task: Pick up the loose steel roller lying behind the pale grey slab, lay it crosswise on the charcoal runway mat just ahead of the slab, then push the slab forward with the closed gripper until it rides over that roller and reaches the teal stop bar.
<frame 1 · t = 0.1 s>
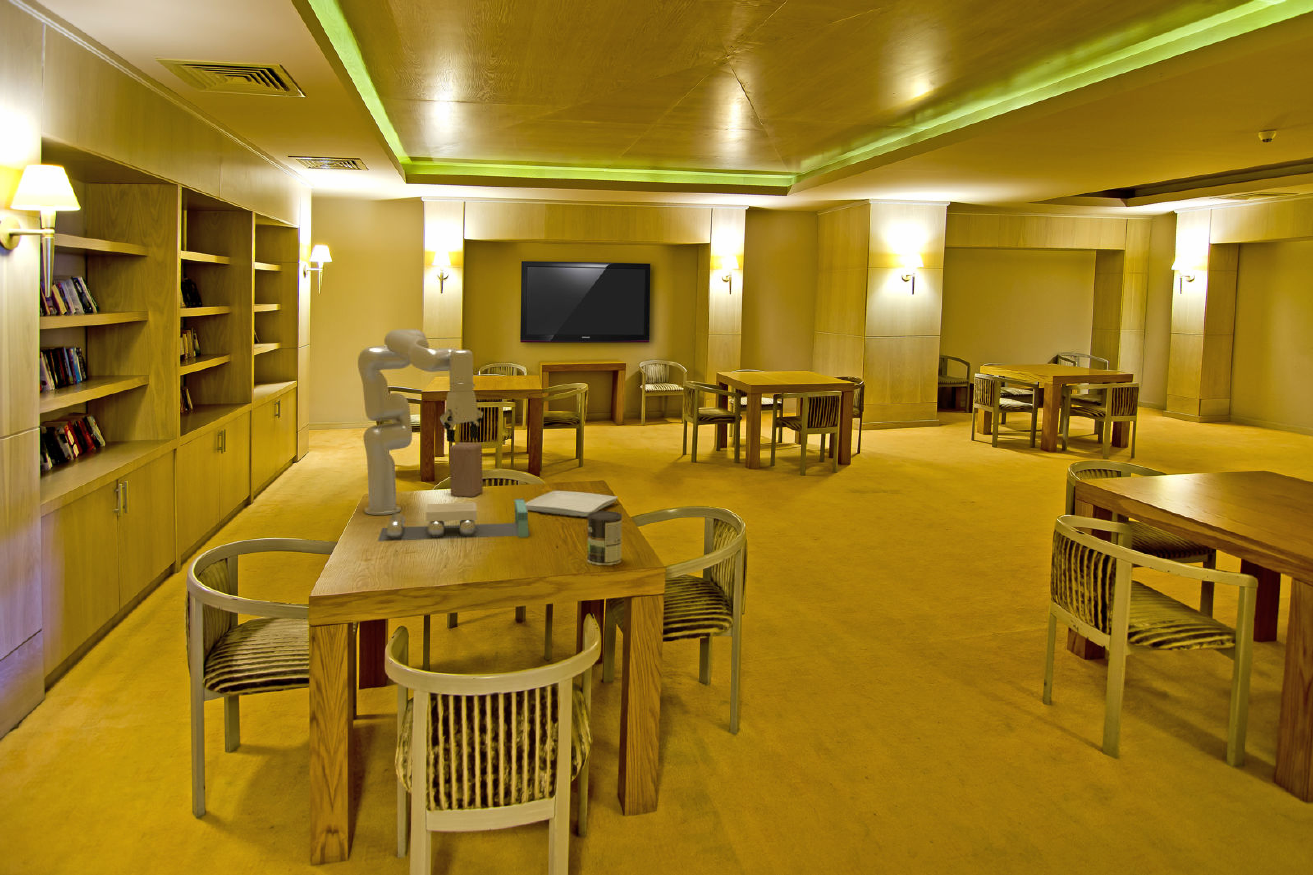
hand: (462, 439, 303), 31 cm above the table, tool pointing down, fingers open, 9 cm apart
loose roller: (396, 533, 303), resting on runway
roller 1: (436, 532, 305), resting on runway
roller 2: (467, 531, 307), resting on runway
wooden block: (466, 495, 366), on the table
runway: (455, 532, 307), on the table
square plate: (571, 510, 344), on the table
slab: (451, 511, 305), point 7 cm above the table, slide at 0.0 cm
coffee can: (604, 561, 277), on the table
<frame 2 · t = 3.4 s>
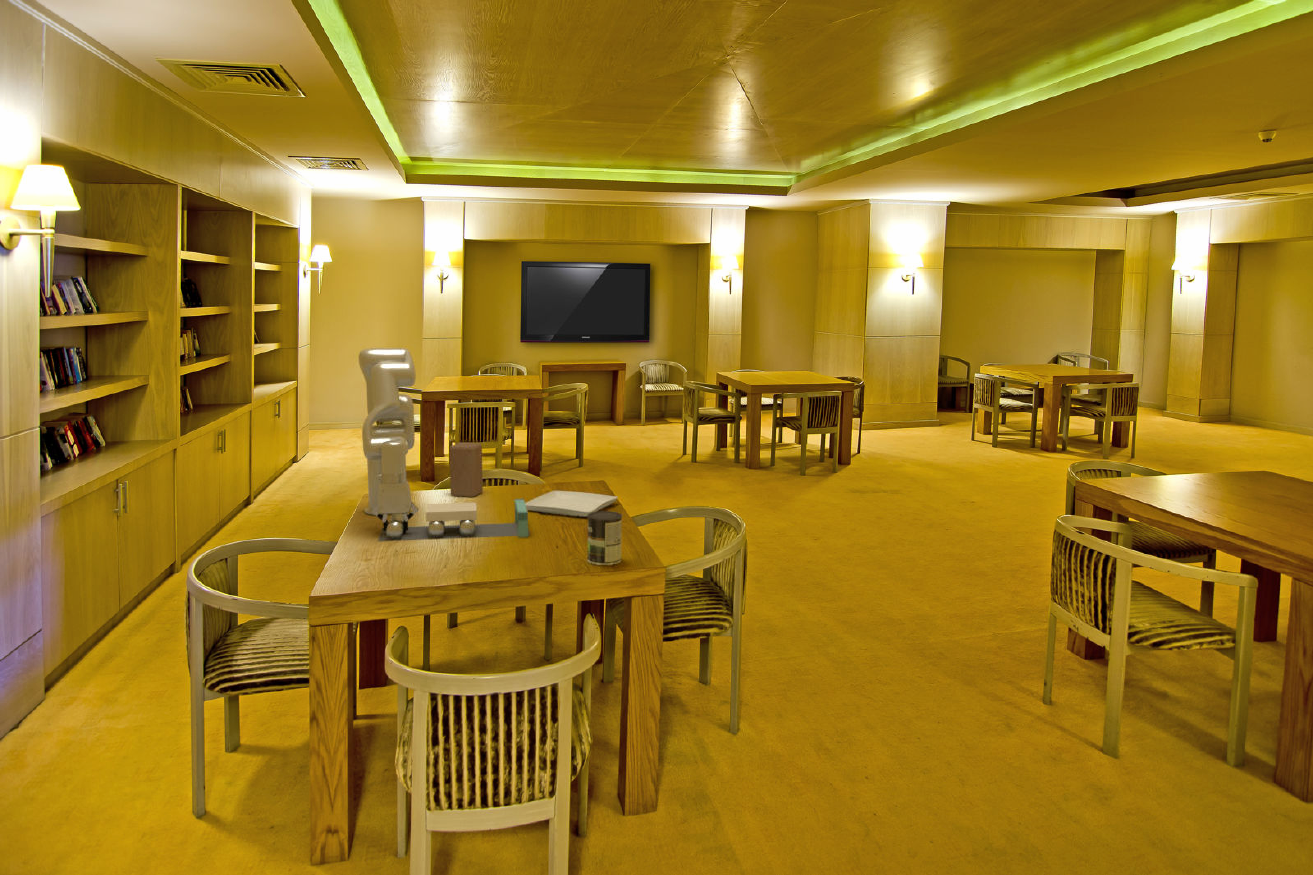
hand: (395, 532, 303), 1 cm above the table, tool pointing down, fingers closed on loose roller, 5 cm apart
loose roller: (395, 533, 303), resting on runway, touching gripper
everything else where it was.
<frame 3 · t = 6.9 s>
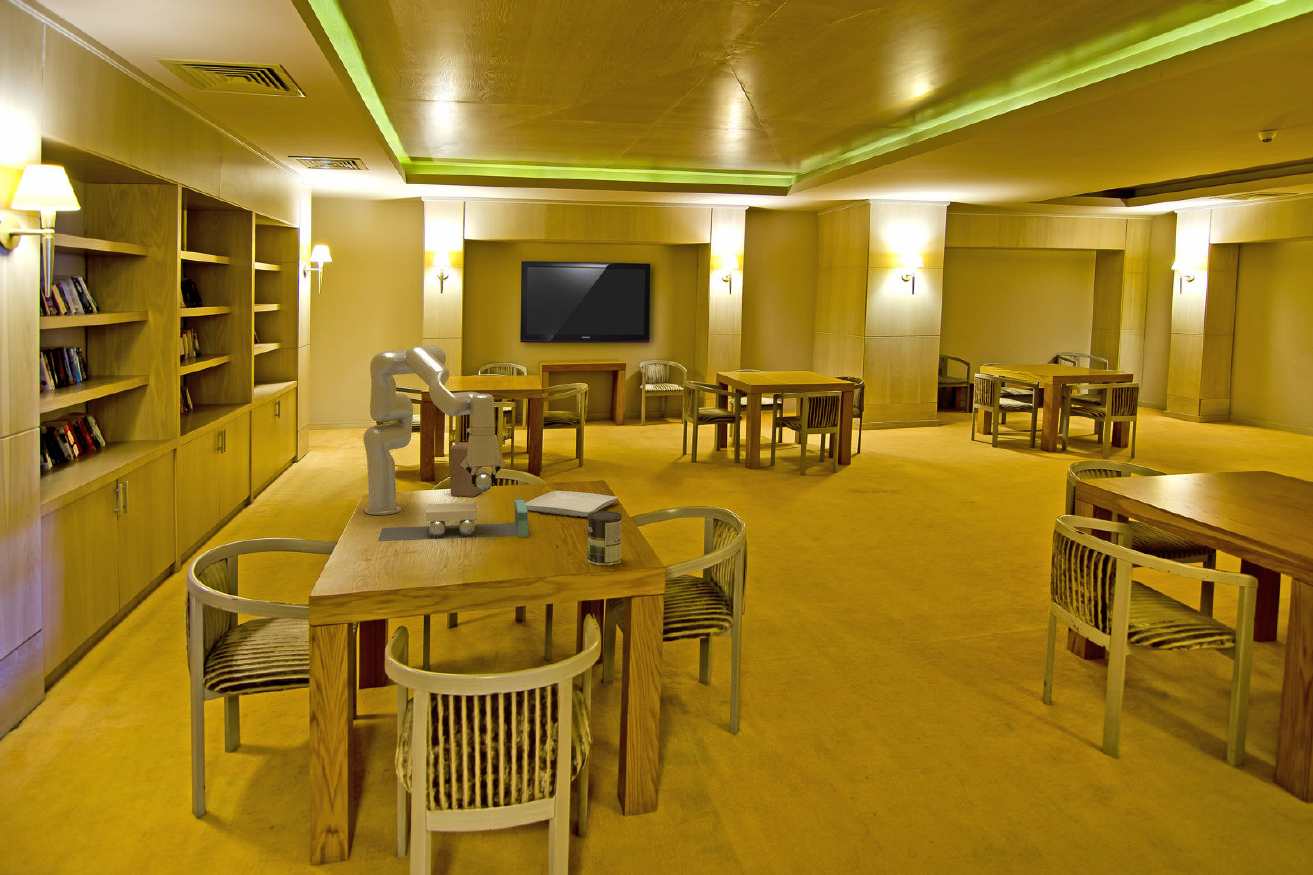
hand: (483, 485, 306), 16 cm above the table, tool pointing down, fingers closed on loose roller, 5 cm apart
loose roller: (483, 486, 306), point 15 cm above the table, touching gripper
roller 1: (436, 532, 305), point 1 cm above the table, tilted 8°, touching runway
everything else where it was.
when the fingers open (1 cm above the table, at t = 10.5 s): loose roller stays where it is, resting on runway.
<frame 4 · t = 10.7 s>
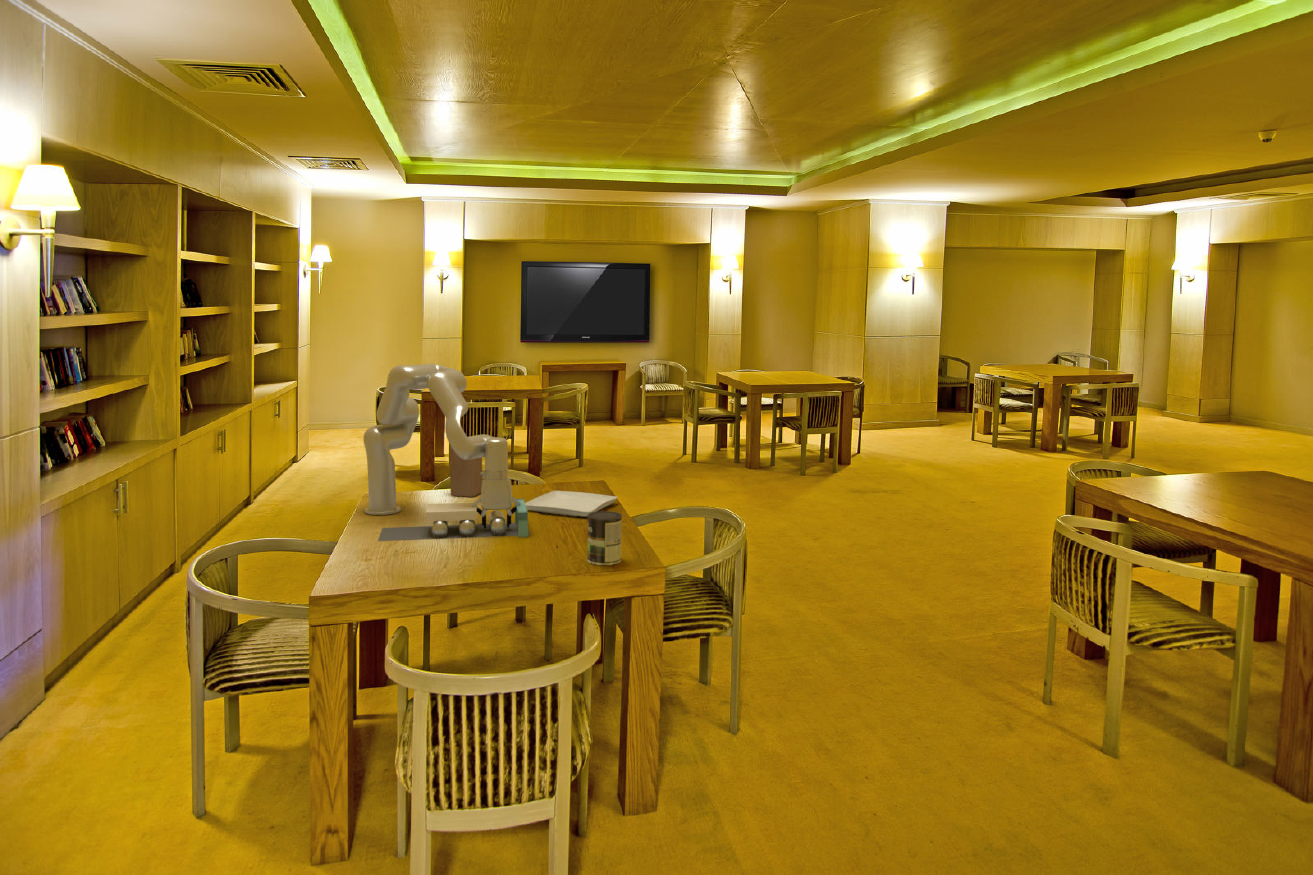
hand: (496, 526, 309), 2 cm above the table, tool pointing down, fingers open, 7 cm apart
loose roller: (497, 529, 309), resting on runway
roller 1: (436, 531, 305), point 1 cm above the table, tilted 27°, touching runway
slab: (451, 511, 305), point 7 cm above the table, slide at 0.0 cm, touching gripper
everything else where it was.
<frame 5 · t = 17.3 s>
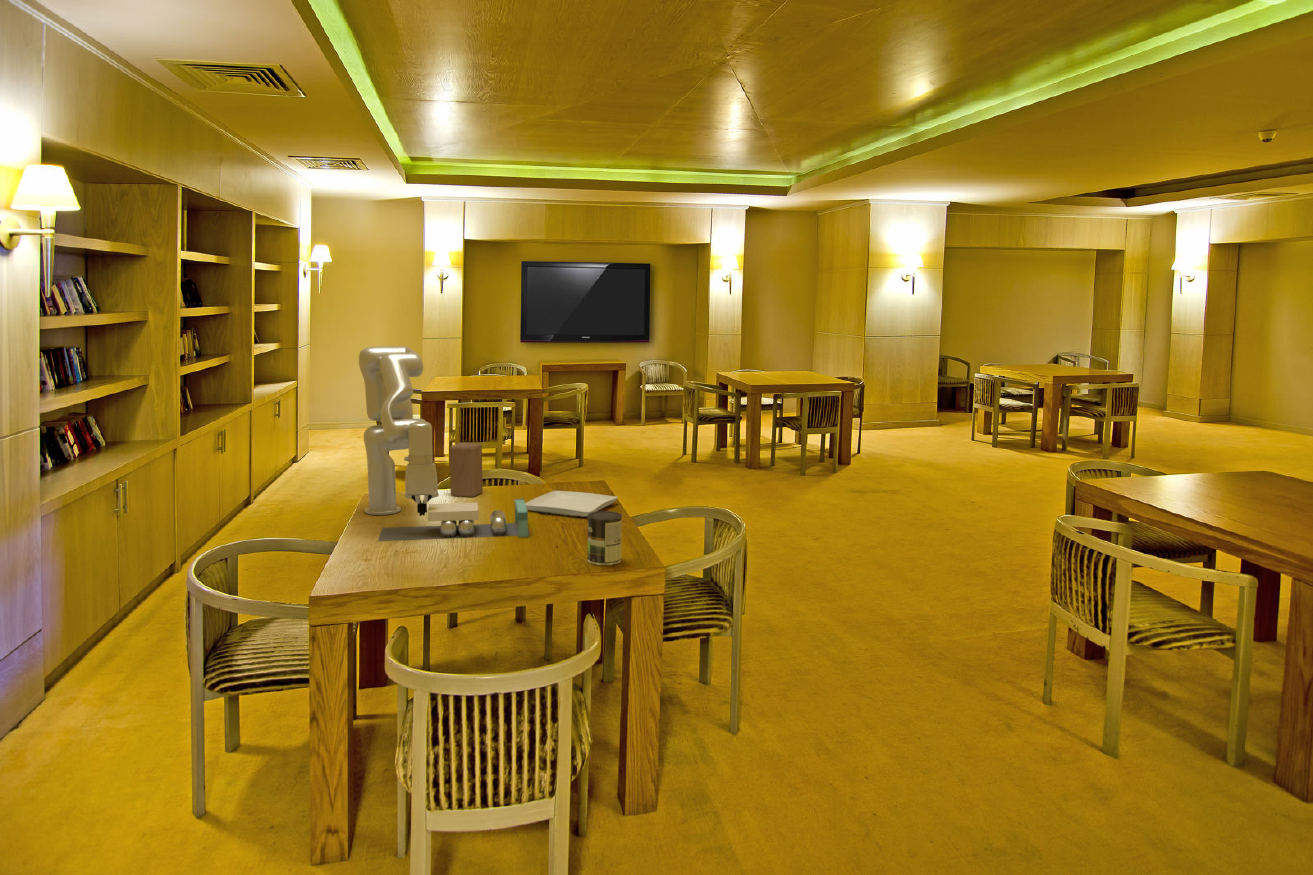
hand: (422, 514, 304), 7 cm above the table, tool pointing down, fingers closed
loose roller: (497, 529, 309), resting on runway, tilted 7°
roller 1: (441, 524, 305), point 3 cm above the table, tilted 91°, touching runway
roller 2: (467, 530, 307), point 1 cm above the table, tilted 8°, touching runway
slab: (453, 511, 305), point 7 cm above the table, slide at 0.5 cm, touching gripper
everything else where it was.
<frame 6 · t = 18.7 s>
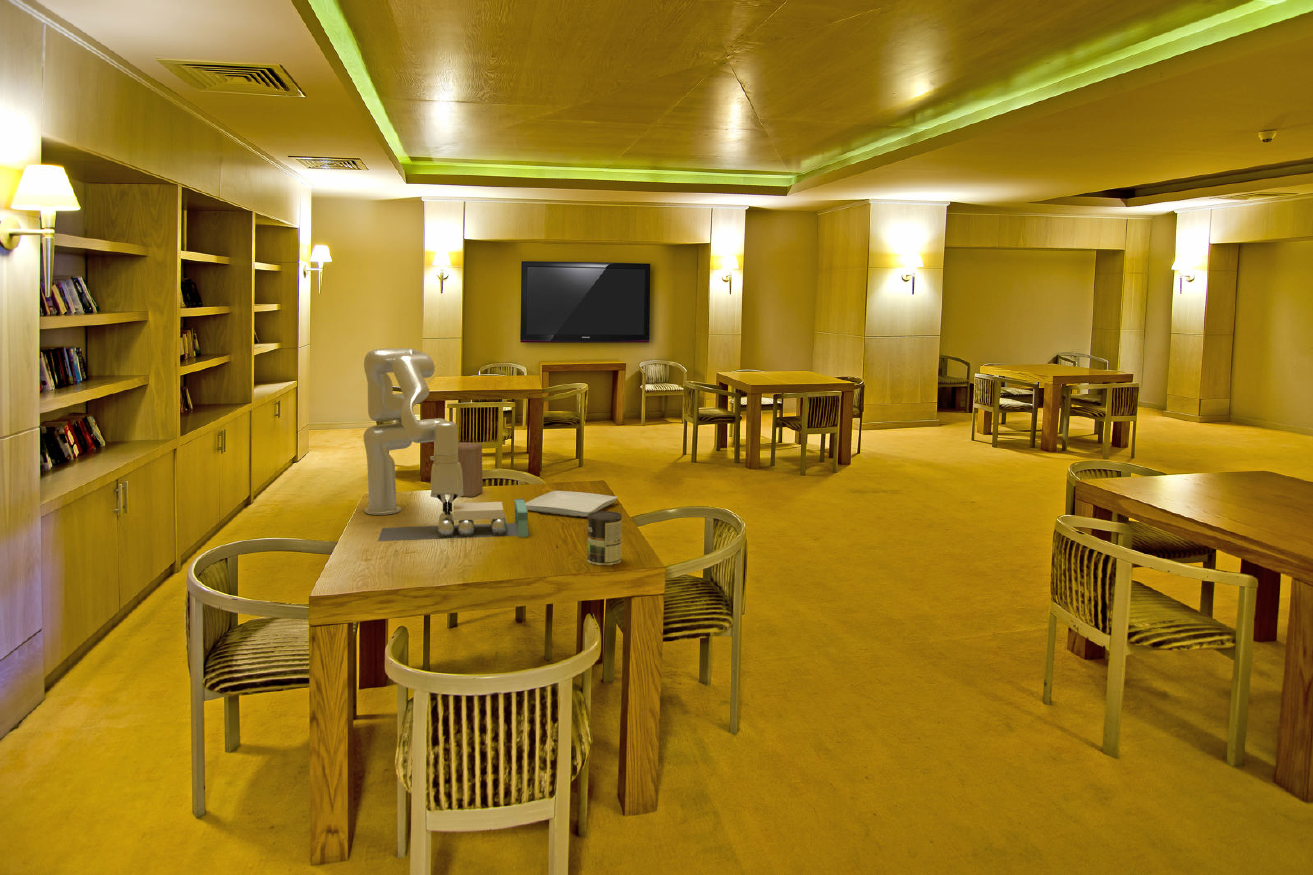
hand: (447, 513, 305), 7 cm above the table, tool pointing down, fingers closed
roller 1: (439, 526, 305), point 2 cm above the table, tilted 72°, touching runway
slab: (478, 510, 307), point 7 cm above the table, slide at 8.6 cm, touching gripper
everything else where it was.
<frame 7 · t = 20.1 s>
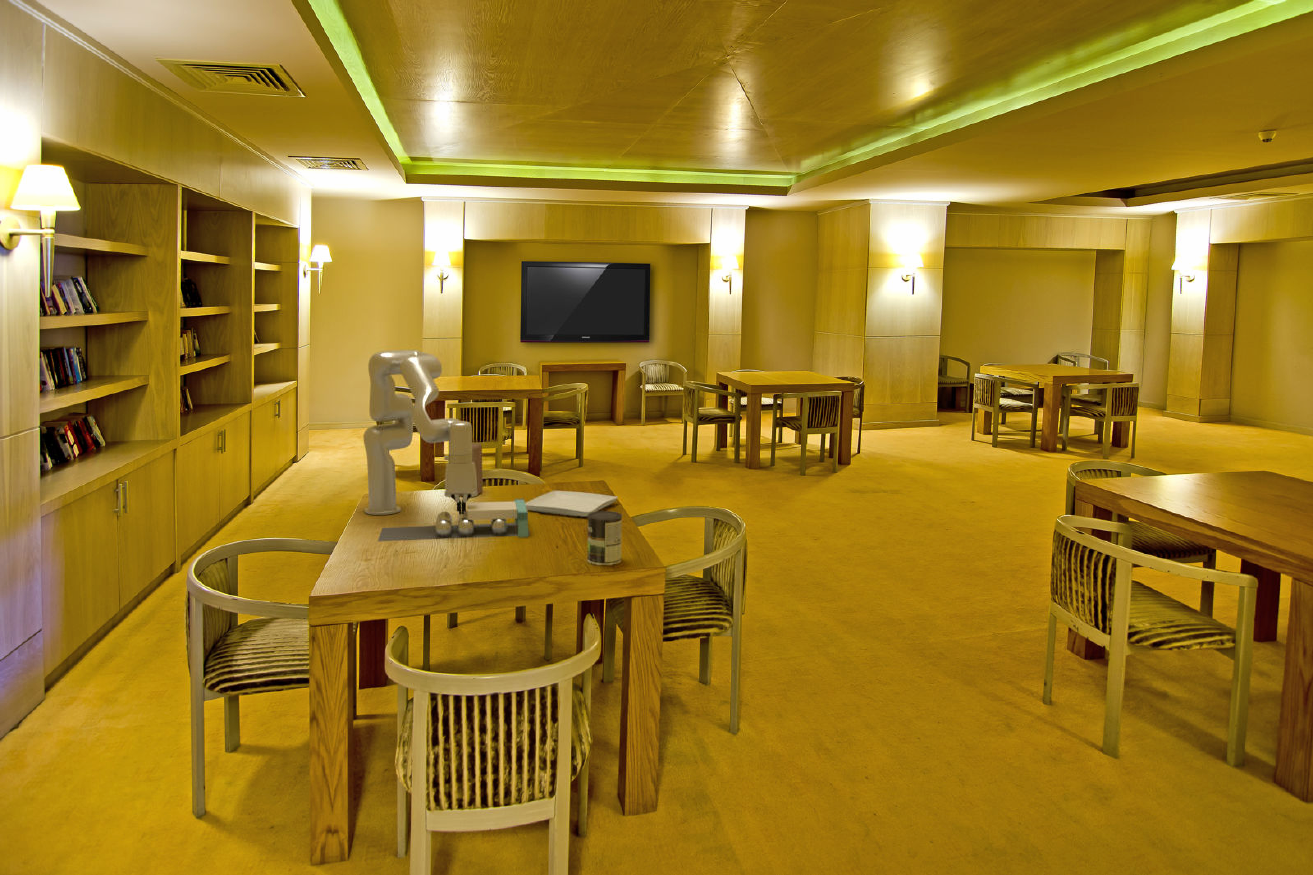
hand: (461, 513, 306), 7 cm above the table, tool pointing down, fingers closed
roller 1: (437, 529, 305), point 2 cm above the table, tilted 54°, touching runway
slab: (491, 510, 308), point 7 cm above the table, slide at 13.1 cm, touching gripper
everything else where it was.
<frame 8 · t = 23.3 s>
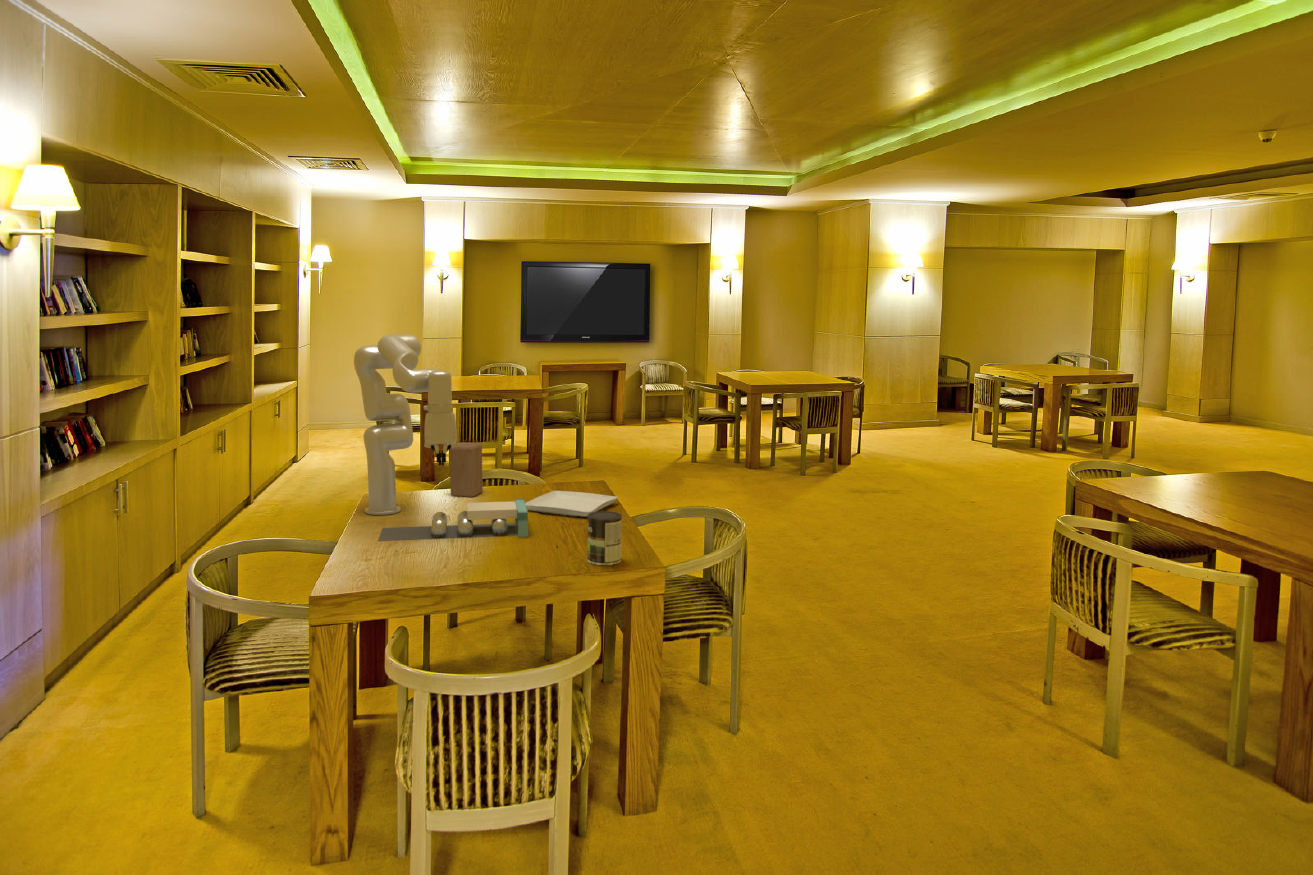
hand: (441, 464, 302), 23 cm above the table, tool pointing down, fingers closed
roller 1: (436, 531, 305), point 1 cm above the table, tilted 20°, touching runway
roller 2: (467, 530, 307), point 1 cm above the table, tilted 17°, touching runway
slab: (491, 510, 308), point 7 cm above the table, slide at 13.0 cm
everything else where it was.
at the end: slab slide at 13.0 cm; loose roller inside the target area (0.6 cm from its centre), point 0.5 cm above the table; the gripper is holding nothing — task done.
